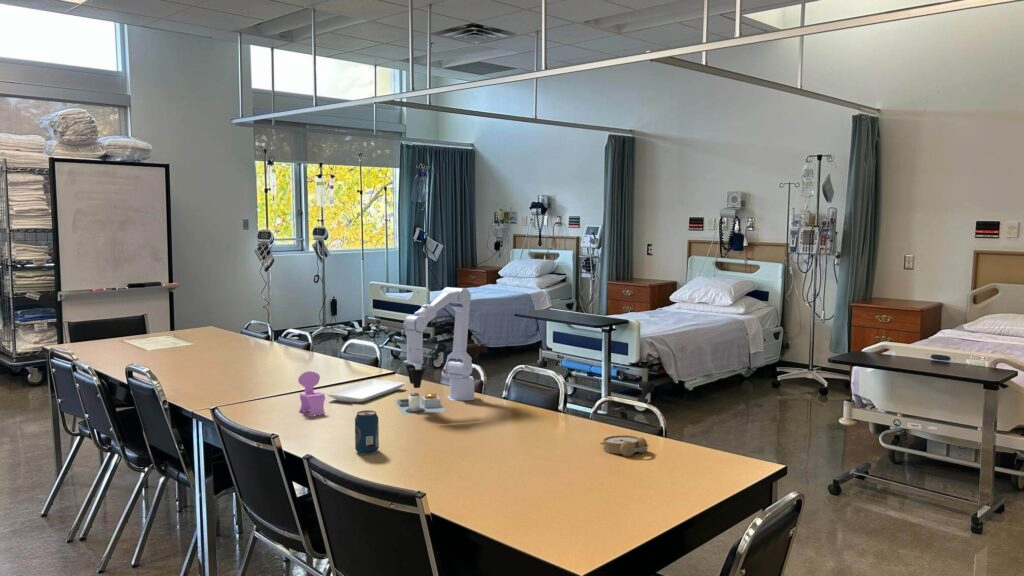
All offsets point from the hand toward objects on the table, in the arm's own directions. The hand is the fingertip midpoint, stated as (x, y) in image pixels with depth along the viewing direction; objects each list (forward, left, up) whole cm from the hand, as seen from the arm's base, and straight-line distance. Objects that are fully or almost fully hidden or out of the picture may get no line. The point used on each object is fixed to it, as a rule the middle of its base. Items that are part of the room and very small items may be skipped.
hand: (415, 385), depth 270 cm
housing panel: (-3, -7, -10) cm, 12 cm away
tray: (+14, -32, -10) cm, 37 cm away
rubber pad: (0, 0, -9) cm, 9 cm away
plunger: (-7, -6, -9) cm, 13 cm away
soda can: (+22, +43, -10) cm, 50 cm away
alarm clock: (-53, +65, -10) cm, 84 cm away
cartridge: (0, 0, -9) cm, 9 cm away
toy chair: (+36, -9, -10) cm, 39 cm away
